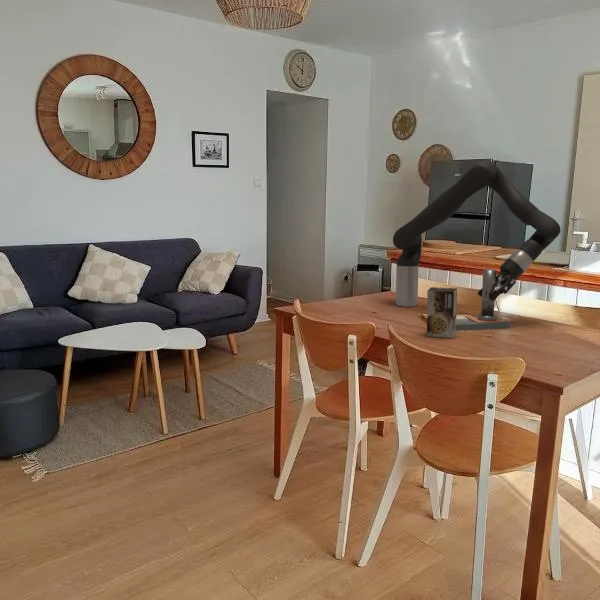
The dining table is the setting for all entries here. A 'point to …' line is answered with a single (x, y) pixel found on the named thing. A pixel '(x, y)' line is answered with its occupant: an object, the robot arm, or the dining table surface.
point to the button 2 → (485, 321)
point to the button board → (481, 325)
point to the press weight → (487, 290)
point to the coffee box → (441, 312)
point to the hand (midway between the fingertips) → (484, 297)
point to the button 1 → (461, 319)
